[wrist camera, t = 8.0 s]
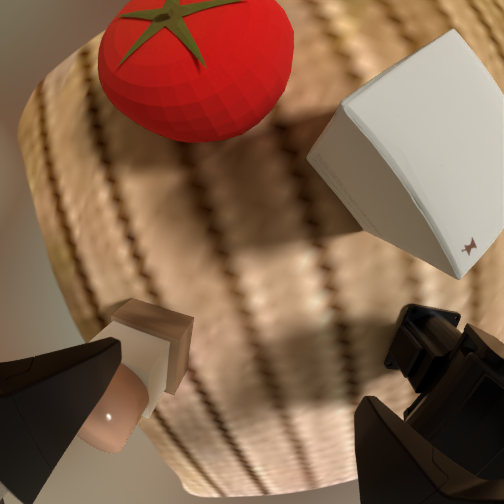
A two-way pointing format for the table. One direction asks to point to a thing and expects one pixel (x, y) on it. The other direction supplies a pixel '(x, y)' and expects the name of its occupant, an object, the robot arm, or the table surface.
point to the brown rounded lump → (116, 412)
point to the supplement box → (422, 155)
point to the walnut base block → (161, 334)
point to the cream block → (142, 358)
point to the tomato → (196, 65)
